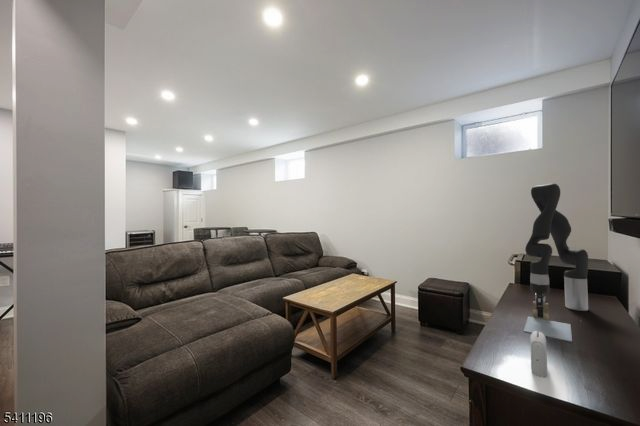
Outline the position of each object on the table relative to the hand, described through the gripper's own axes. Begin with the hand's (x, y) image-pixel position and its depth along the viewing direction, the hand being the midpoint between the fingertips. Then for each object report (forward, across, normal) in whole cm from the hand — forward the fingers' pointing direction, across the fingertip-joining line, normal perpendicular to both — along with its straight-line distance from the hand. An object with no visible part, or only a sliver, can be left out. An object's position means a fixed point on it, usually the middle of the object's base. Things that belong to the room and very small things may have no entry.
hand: (540, 315), depth 135 cm
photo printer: (+2, +57, +2) cm, 57 cm away
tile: (+2, 0, 0) cm, 2 cm away
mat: (+1, +13, +3) cm, 13 cm away
